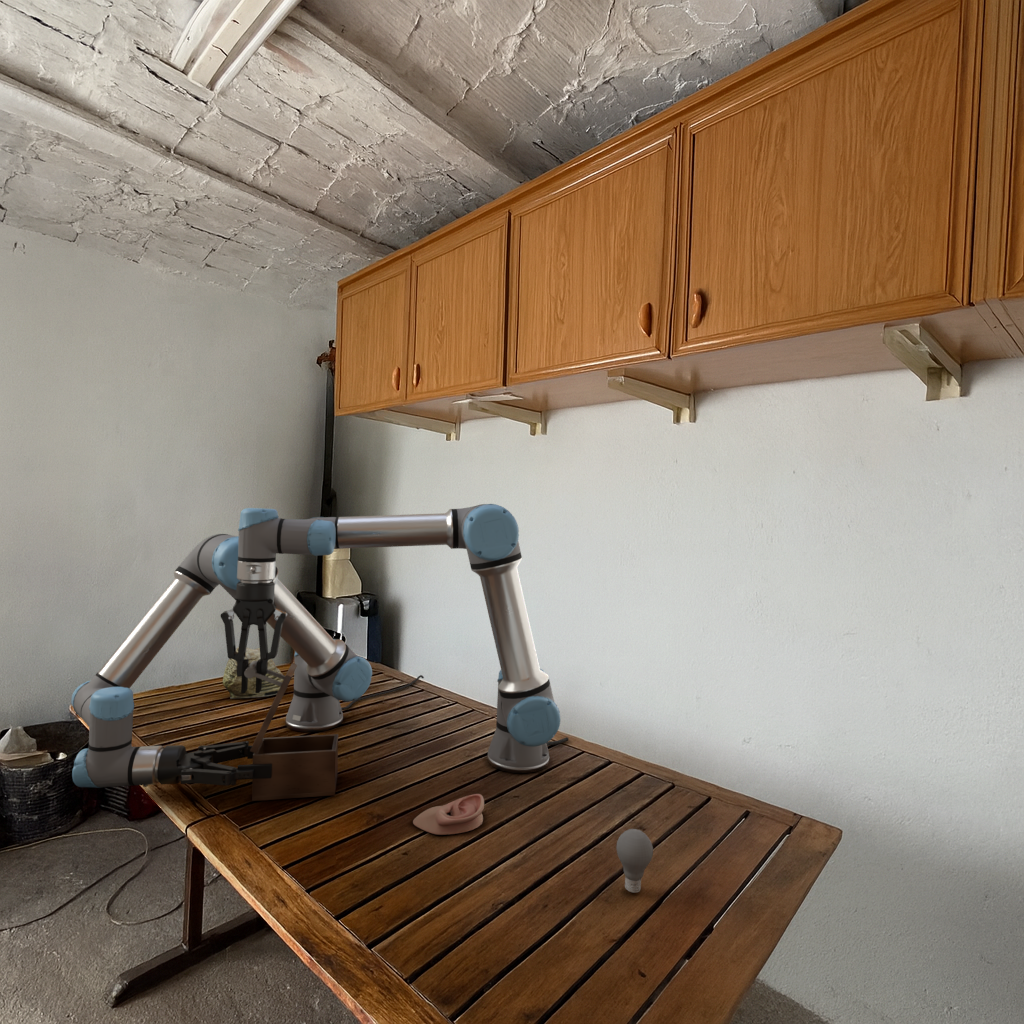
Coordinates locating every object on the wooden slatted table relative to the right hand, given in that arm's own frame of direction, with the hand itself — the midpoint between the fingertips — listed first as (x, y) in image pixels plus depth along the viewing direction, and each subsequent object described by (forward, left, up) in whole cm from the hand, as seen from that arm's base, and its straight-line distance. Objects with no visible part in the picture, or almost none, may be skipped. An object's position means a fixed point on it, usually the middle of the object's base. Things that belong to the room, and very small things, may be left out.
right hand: (251, 691), depth 135 cm
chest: (-10, +2, -21) cm, 24 cm away
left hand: (-5, +1, -15) cm, 16 cm away
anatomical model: (-37, +25, -21) cm, 50 cm away
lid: (-5, +1, -4) cm, 6 cm away
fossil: (-1, -68, -21) cm, 71 cm away
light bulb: (-60, +56, -21) cm, 85 cm away
